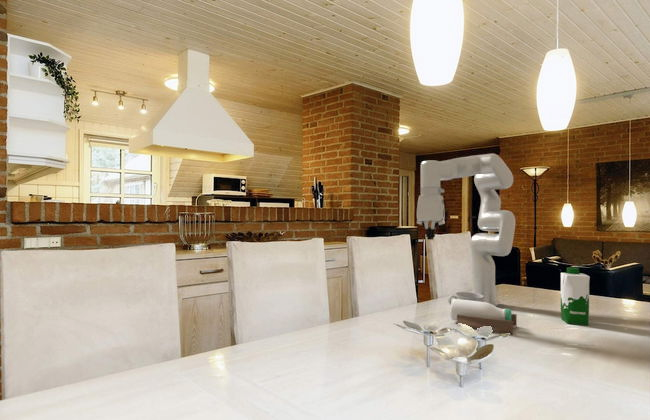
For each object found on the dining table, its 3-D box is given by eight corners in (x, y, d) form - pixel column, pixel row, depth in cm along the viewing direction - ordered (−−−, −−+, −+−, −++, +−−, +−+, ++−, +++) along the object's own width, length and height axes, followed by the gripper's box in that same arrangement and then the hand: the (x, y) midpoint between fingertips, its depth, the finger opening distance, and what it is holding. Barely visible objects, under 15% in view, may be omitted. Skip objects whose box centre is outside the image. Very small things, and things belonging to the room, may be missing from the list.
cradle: (464, 320, 160) (464, 308, 160) (516, 326, 151) (516, 314, 151) (456, 327, 149) (457, 314, 149) (512, 335, 140) (512, 321, 140)
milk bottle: (450, 322, 154) (509, 330, 144) (449, 301, 154) (509, 307, 144) (455, 316, 161) (512, 323, 151) (454, 296, 161) (512, 302, 151)
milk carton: (583, 320, 162) (583, 267, 162) (592, 326, 153) (592, 270, 153) (558, 318, 164) (558, 266, 164) (565, 324, 155) (565, 269, 155)
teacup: (479, 311, 175) (479, 292, 175) (486, 317, 164) (486, 297, 164) (444, 310, 177) (445, 291, 177) (449, 316, 166) (450, 296, 166)
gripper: (451, 192, 165) (452, 239, 165) (414, 193, 172) (414, 238, 172) (447, 191, 159) (448, 240, 159) (408, 192, 166) (409, 239, 166)
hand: (430, 239), depth 166 cm, fingers closed
